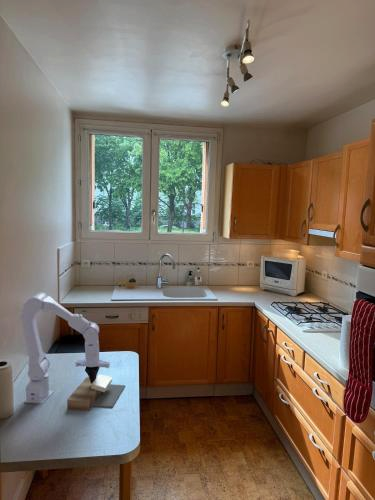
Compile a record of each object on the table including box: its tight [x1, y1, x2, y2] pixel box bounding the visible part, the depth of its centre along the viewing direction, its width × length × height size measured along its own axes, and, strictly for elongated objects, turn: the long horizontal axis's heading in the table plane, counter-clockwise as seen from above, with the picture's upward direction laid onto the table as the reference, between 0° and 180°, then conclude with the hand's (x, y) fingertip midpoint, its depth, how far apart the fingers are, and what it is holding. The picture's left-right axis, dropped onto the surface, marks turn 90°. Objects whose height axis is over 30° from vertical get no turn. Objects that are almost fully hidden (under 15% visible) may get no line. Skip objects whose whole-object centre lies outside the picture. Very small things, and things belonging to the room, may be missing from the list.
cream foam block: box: [91, 373, 113, 392], centre depth 147 cm, size 9×6×2 cm, turn 173°
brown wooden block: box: [66, 376, 102, 412], centre depth 144 cm, size 19×9×4 cm, turn 173°
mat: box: [92, 383, 126, 409], centre depth 145 cm, size 17×8×1 cm, turn 173°
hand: (93, 382), depth 147 cm, fingers closed
